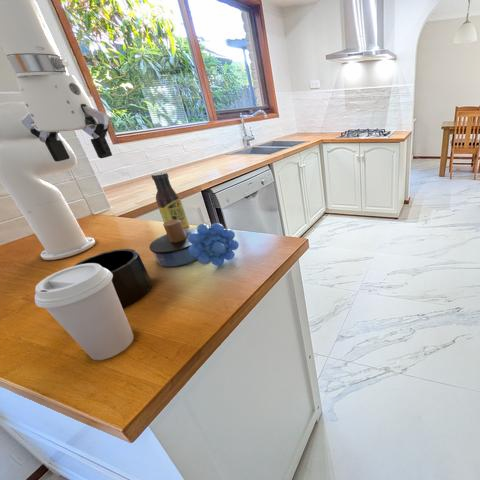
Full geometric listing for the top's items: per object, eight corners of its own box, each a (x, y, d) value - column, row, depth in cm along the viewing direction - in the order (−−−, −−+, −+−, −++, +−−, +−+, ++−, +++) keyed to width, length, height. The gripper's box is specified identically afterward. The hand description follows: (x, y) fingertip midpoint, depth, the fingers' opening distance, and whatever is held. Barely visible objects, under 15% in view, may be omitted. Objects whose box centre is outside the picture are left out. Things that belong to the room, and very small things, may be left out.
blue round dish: (147, 264, 77) (140, 249, 75) (185, 242, 88) (180, 229, 86) (182, 270, 73) (176, 255, 71) (218, 247, 84) (213, 233, 81)
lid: (138, 252, 75) (128, 231, 72) (181, 230, 86) (174, 210, 83) (177, 258, 71) (168, 236, 68) (217, 234, 82) (211, 214, 79)
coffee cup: (70, 353, 51) (19, 284, 44) (130, 319, 58) (94, 255, 51) (90, 377, 46) (36, 304, 39) (153, 337, 53) (117, 269, 46)
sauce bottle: (182, 240, 89) (158, 177, 80) (165, 239, 90) (139, 177, 81) (196, 231, 95) (175, 170, 86) (180, 230, 96) (157, 171, 87)
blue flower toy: (204, 281, 68) (187, 236, 63) (193, 271, 72) (177, 228, 67) (249, 261, 75) (237, 218, 70) (237, 252, 80) (225, 212, 74)
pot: (71, 308, 62) (50, 275, 58) (128, 275, 73) (112, 246, 69) (110, 319, 58) (90, 285, 54) (164, 283, 69) (150, 252, 65)
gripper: (99, 65, 58) (134, 152, 66) (16, 72, 59) (61, 157, 67) (67, 63, 52) (110, 159, 60) (-26, 70, 52) (29, 165, 60)
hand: (84, 158), depth 63 cm, fingers open, 9 cm apart
